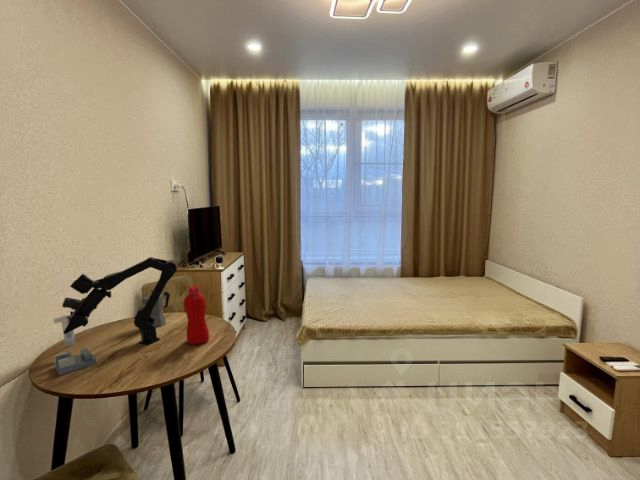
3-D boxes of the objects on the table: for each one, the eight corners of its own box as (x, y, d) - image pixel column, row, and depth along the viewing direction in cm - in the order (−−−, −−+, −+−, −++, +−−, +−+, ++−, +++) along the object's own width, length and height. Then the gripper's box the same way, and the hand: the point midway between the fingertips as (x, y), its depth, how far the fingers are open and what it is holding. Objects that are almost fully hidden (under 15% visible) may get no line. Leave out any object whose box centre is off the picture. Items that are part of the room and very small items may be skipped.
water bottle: (188, 348, 148) (182, 292, 145) (186, 339, 158) (182, 286, 155) (210, 344, 152) (206, 289, 149) (208, 335, 162) (203, 283, 159)
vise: (89, 356, 145) (88, 344, 144) (96, 363, 138) (95, 351, 137) (54, 367, 136) (52, 355, 136) (59, 375, 129) (57, 363, 129)
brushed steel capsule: (75, 341, 147) (71, 314, 146) (75, 344, 144) (71, 316, 143) (58, 345, 144) (54, 317, 142) (58, 348, 141) (53, 320, 139)
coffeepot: (149, 330, 171) (145, 295, 168) (138, 327, 176) (135, 292, 173) (177, 320, 183) (174, 287, 181) (166, 317, 188) (163, 285, 186)
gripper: (74, 285, 151) (47, 315, 147) (73, 295, 136) (42, 329, 132) (98, 299, 157) (72, 328, 152) (99, 309, 141) (70, 343, 137)
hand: (64, 331), depth 143 cm, fingers closed on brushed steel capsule, 4 cm apart
